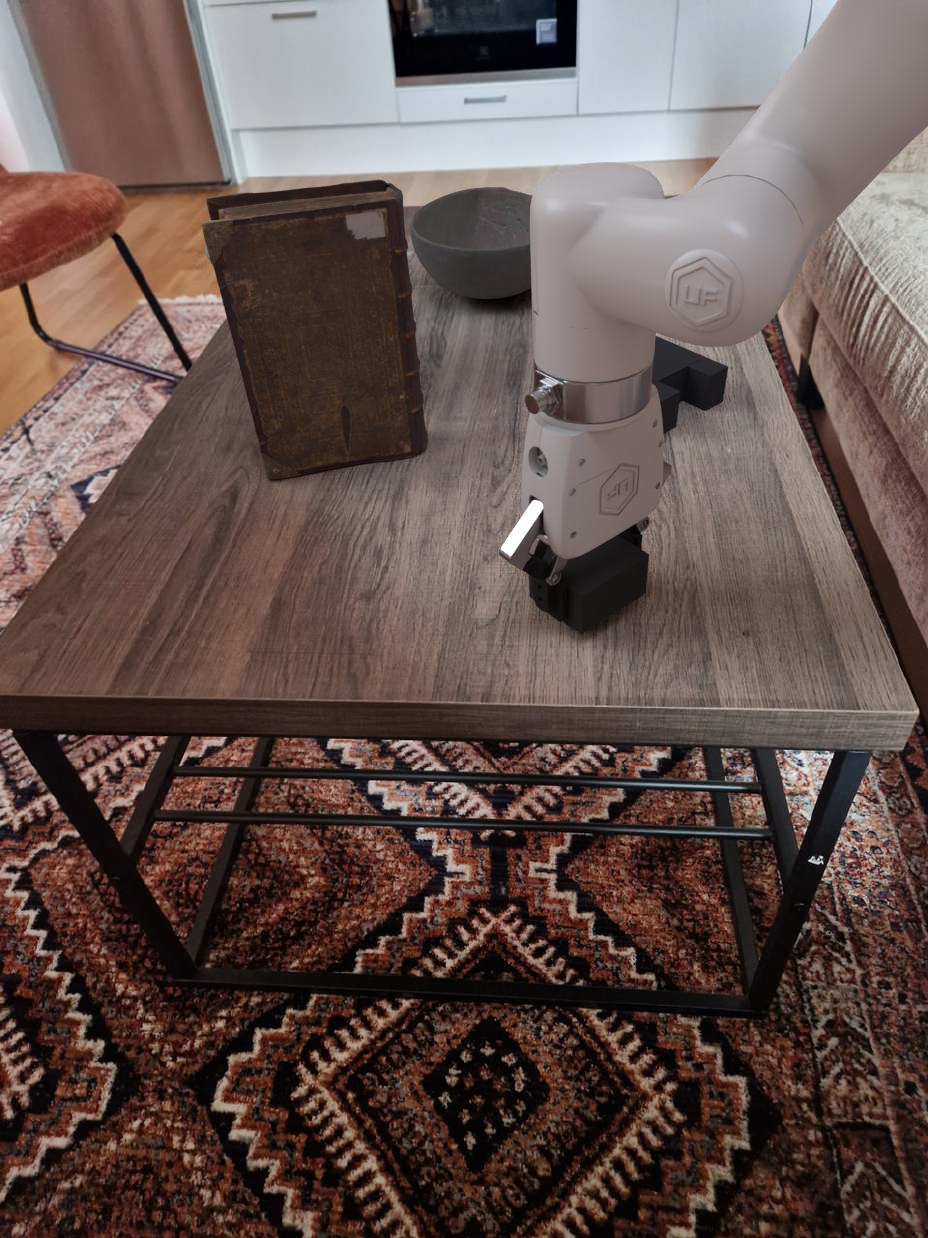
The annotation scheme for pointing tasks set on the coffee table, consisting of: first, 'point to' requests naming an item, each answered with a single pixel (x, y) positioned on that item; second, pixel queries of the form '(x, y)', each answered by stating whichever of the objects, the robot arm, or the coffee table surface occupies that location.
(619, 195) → the robot arm
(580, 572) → the pad
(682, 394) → the notch pad
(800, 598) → the coffee table surface
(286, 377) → the book
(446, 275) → the bowl
